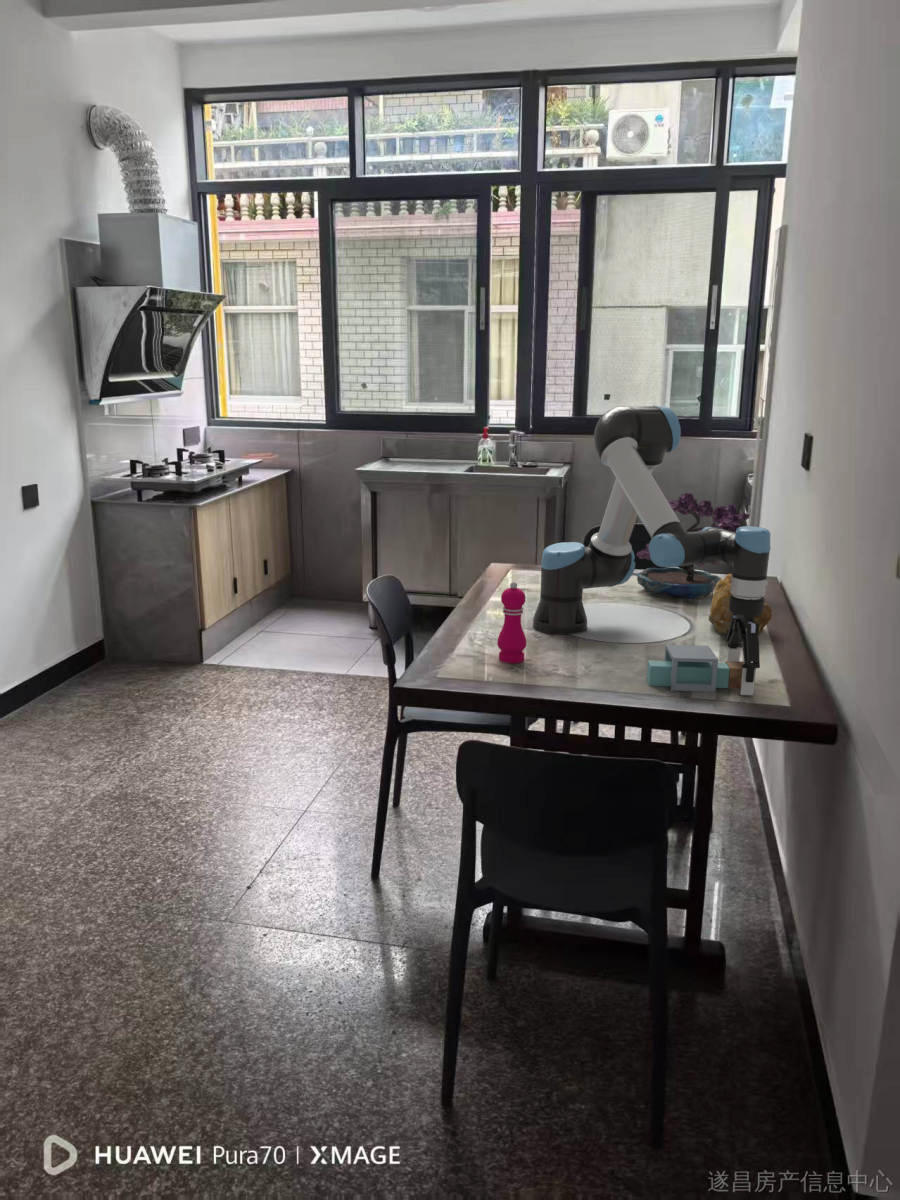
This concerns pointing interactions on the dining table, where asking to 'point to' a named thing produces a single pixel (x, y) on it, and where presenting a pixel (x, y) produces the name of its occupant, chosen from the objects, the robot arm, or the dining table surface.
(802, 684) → the dining table surface
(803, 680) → the dining table surface
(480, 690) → the dining table surface
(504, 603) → the pepper mill
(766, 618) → the rough brown rock
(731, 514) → the bonsai tree
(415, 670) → the dining table surface
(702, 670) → the teal rod
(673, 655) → the tunnel
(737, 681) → the walnut block
